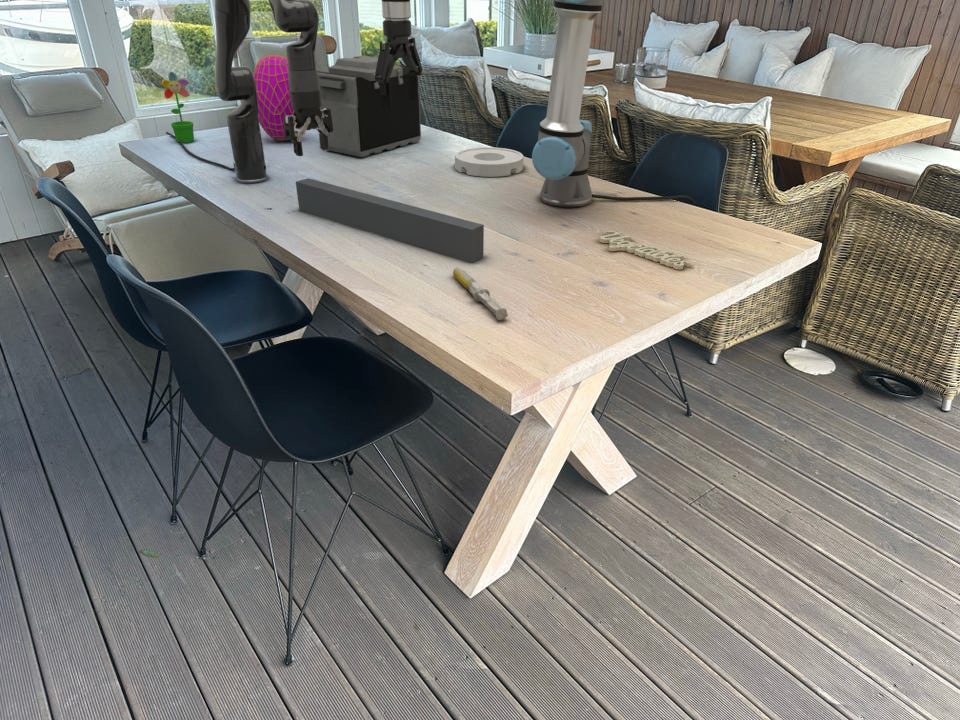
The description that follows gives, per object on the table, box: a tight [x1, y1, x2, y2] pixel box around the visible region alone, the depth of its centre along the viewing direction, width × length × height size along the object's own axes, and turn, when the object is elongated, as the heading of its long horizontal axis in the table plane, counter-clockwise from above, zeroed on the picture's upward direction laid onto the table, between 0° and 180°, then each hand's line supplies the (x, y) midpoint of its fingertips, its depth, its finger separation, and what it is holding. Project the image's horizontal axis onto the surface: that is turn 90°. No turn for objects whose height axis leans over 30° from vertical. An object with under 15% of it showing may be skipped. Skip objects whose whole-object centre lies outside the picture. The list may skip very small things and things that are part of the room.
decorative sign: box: [599, 230, 690, 270], centre depth 167 cm, size 26×1×10 cm
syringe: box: [452, 266, 509, 321], centre depth 145 cm, size 25×4×3 cm, turn 21°
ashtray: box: [454, 146, 525, 178], centre depth 232 cm, size 23×23×4 cm
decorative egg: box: [252, 54, 301, 142], centre depth 257 cm, size 19×19×30 cm
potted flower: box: [160, 71, 195, 144], centre depth 255 cm, size 9×8×25 cm
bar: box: [295, 177, 485, 264], centre depth 176 cm, size 61×4×8 cm, turn 53°
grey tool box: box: [317, 55, 422, 159], centre depth 250 cm, size 37×22×30 cm, turn 144°
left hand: (311, 152), depth 183 cm, fingers open, 8 cm apart
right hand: (400, 103), depth 193 cm, fingers open, 13 cm apart
